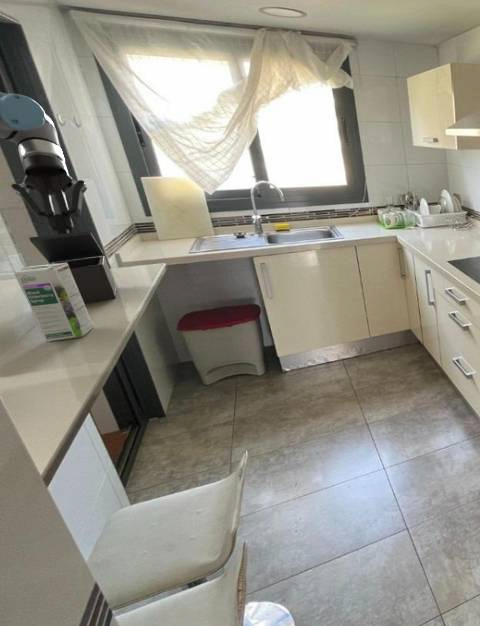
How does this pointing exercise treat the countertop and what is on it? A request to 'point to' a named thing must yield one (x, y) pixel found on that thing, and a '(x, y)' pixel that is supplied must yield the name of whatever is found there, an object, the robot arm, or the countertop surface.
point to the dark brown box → (92, 278)
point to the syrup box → (55, 301)
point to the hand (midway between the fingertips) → (65, 239)
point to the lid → (67, 246)
